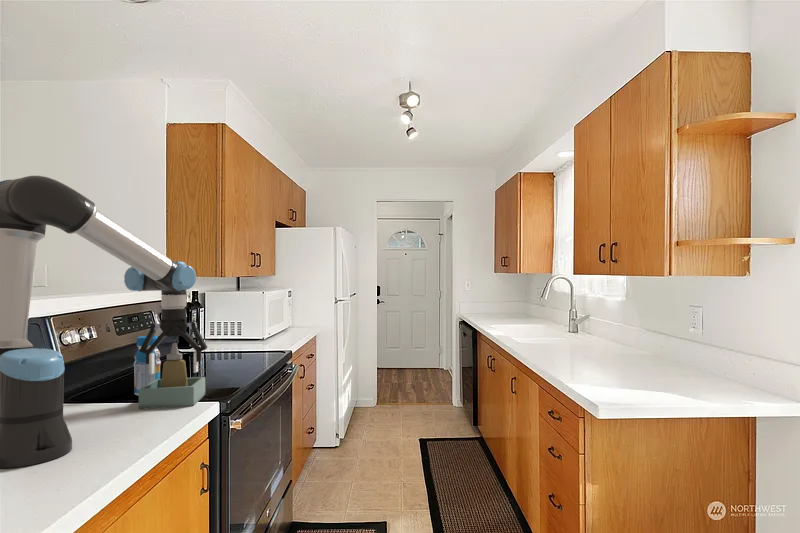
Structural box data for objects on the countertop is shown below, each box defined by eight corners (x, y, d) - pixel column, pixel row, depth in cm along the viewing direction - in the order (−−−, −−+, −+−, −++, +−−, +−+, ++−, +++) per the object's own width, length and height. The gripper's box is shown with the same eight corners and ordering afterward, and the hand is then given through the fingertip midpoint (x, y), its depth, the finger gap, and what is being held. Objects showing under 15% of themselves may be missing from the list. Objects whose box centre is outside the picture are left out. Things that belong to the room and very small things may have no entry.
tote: (193, 405, 149) (193, 386, 150) (138, 409, 147) (138, 389, 147) (205, 394, 165) (205, 377, 165) (155, 397, 162) (155, 379, 163)
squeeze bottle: (180, 401, 152) (180, 344, 152) (155, 401, 152) (155, 344, 153) (192, 395, 160) (192, 341, 160) (168, 395, 160) (168, 341, 161)
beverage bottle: (140, 397, 162) (140, 338, 163) (129, 394, 168) (129, 337, 168) (165, 392, 169) (165, 336, 170) (153, 389, 174) (153, 334, 175)
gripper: (216, 306, 163) (216, 369, 162) (137, 308, 158) (137, 372, 158) (211, 307, 155) (211, 373, 155) (128, 309, 151) (128, 376, 150)
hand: (174, 373), depth 156 cm, fingers open, 13 cm apart
